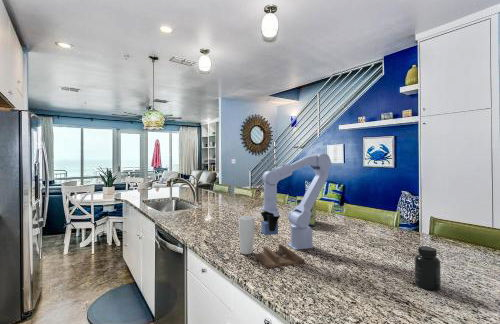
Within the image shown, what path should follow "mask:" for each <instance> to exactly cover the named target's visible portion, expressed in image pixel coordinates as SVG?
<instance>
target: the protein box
mask: <svg viewBox="0 0 500 324" xmlns="http://www.w3.org/2000/svg"><path fill="white" fill-rule="evenodd" d="M303 197H304V195H303V196H301V195H300V196H299V197H298V198H297V199H296V206H298V205H299V204H300V203H301V201H302V199H303ZM310 211H311V217H310V222H309V225H308V226H309V227H310V228H315V226H316V223H317V219H316V218H317V217H316V215H317V199H316V200H315V202H314V204H313V206H312V208H311V210H310Z"/></svg>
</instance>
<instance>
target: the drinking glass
mask: <svg viewBox="0 0 500 324" xmlns="http://www.w3.org/2000/svg"><path fill="white" fill-rule="evenodd" d="M255 219H256V218H255V217H254V216H252V215H241V216H239V217H238V235H239V251H240V254H242V255H251V254H252V253H253V251H254V238H255V229H256V227H255V226H256V225H255V223H256V222H255V221H256V220H255Z"/></svg>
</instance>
